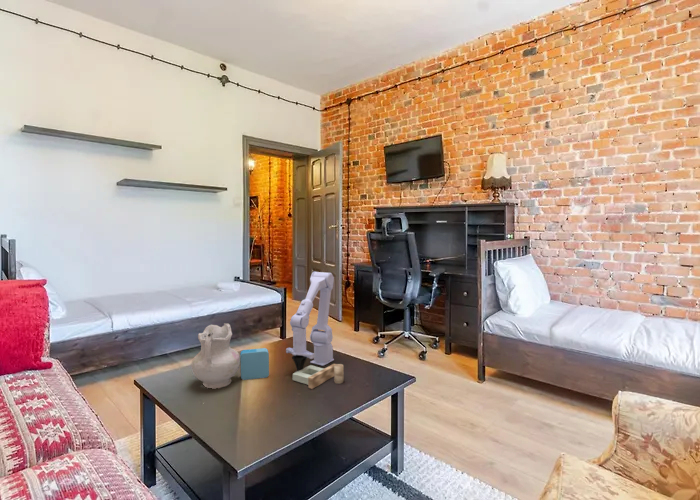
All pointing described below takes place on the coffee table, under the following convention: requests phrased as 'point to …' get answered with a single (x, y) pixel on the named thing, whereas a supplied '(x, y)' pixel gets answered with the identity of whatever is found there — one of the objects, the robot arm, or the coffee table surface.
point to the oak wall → (321, 376)
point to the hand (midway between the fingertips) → (300, 371)
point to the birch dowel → (338, 373)
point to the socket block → (305, 373)
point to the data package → (254, 363)
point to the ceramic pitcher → (215, 357)
